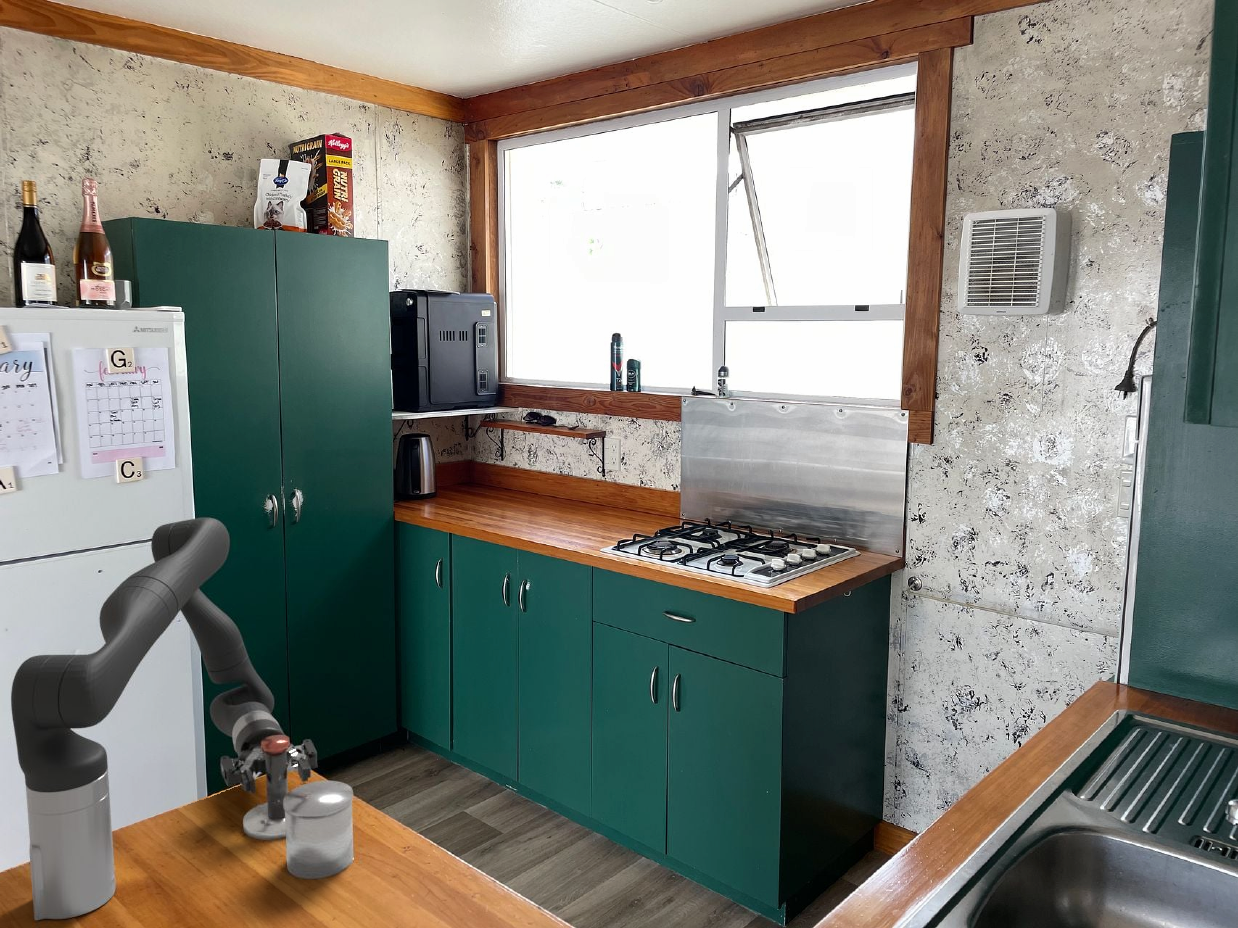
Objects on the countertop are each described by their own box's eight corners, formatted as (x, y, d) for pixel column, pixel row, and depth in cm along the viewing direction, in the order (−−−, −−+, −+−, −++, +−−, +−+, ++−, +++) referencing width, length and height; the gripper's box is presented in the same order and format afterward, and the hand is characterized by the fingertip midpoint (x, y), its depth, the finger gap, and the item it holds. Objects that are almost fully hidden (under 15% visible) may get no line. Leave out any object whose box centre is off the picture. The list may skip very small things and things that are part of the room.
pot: (293, 886, 126) (291, 819, 125) (279, 853, 134) (276, 790, 133) (362, 867, 131) (361, 802, 130) (345, 836, 139) (343, 775, 138)
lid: (249, 846, 136) (246, 760, 134) (238, 815, 144) (234, 734, 143) (319, 828, 141) (317, 745, 139) (304, 800, 150) (301, 721, 148)
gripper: (211, 727, 150) (227, 768, 136) (303, 710, 157) (327, 747, 143) (213, 771, 151) (229, 816, 137) (304, 752, 158) (328, 793, 144)
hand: (279, 781), depth 140 cm, fingers open, 7 cm apart
